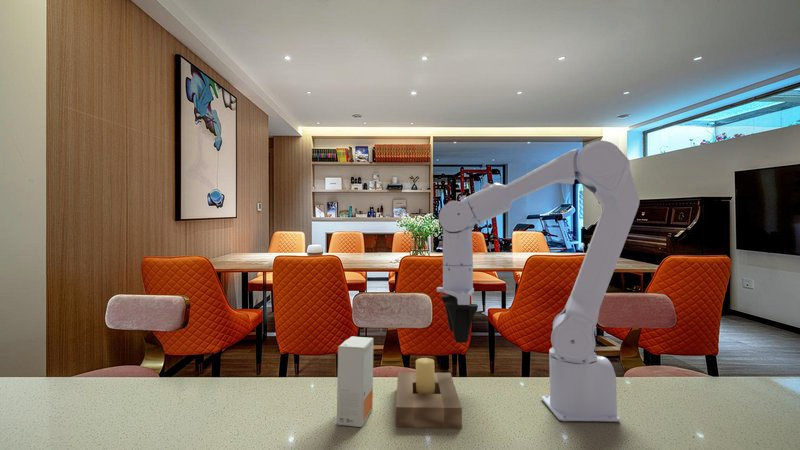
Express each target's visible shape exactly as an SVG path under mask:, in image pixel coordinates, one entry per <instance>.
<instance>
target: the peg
mask: <svg viewBox="0 0 800 450" xmlns="http://www.w3.org/2000/svg"><path fill="white" fill-rule="evenodd" d="M415 372H416V394H435V373H436V372H435V360H434V359H433V358H428V357H420V358H417V359H415Z"/></svg>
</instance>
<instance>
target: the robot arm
mask: <svg viewBox="0 0 800 450" xmlns="http://www.w3.org/2000/svg"><path fill="white" fill-rule="evenodd" d="M631 170H632V169H631V164H630V160H629V158H628V157H627V156H626V155H625V153H623V151H622V150H621V149H620V148H619V147H618V146H617V145H616V144H614V143H613V142H611V141H607V140H596V141H595V140H594V141H592V142H591V141H590V142H589V143H587V144H586V145H584V146H583V147H582V148H581V149H580V148H579V147H578V148H575V149H571V150H570V151H568V152H566V153H564V154H562V155H560V156H558V157H555V158H554V159H552V160H550V161H548V162H546V163H544V164H543V165H540V166H539V167H537V168H535V169H533V170H531V171H530V172H528V173H526V174H524V175H523V176H520V177H519V178H516V179H515V180H512V181H511V182H509V183H507V184H502V183H499V182H494V183H489V182H486V183H484V184H483V185H482V189H480V190H478V191H476V192H474V193H472V194H470V195H468V196H466V195H462V196H460V197H459V199H460V201H458V200H449V201H448V202H446V204H444V205H443V206H442V207H441V208H440V211H439V214H438V222H439V224H440V226H441V227H442V286H438V287H436V293H437V292H438V293H444V294H442V295H440V298H441V300H442V303H443V304H444V307H445V313H446V318H447V324H448V329H449V331H450V332H452V334H453V337H454V341H455V343H462V344H463V343H468V342H469V341H468V340H469V336H470V331H471V326H472V322H473V319H474V316H475V314H476V312H477V311H478V309H479V305H478V304H477V303H471V296H472V294H474V292H475V288H474V265H473V264H474V263H473V260H474V258H473V255H474V254H473V251H474V248H473V244H474V242H473V229H474V227H475V225H481V224H483V223H485V222H486V221H489V220H491V219H494V218H496V217H498V216H500V215H502V214H505V213H506V212H509V211H510V210H511V207H512V204H513V202H515V201H516V200H519V199H521V198H524V197H526V196H528V195H530V194H532V193H535V192H537V191H540V190H542V189H545V188H548V187H550V186H552V185H554V184H566V185H575V179H576V180H577V181H578V183H580V184H581V185H582V186H583V187H585V188H586V189H587V190H589V191H590V192H591V193H592V194H593V195H594V197H595V199H596V200H597V201H598V203H599V204H600V206H601V208H602V211H600V212H601V213H600V215H599V218H598V220H597V223H596V226H595V228H594V231H593V234H592V236H591V239H590V241H589V245H588V247H587V250H586V253H585V255H584V257H583V261H582V263H581V265H580V266H581V267H580V268H579V272H578V274H577V277H576V280H575V282H574V285H573V286H572V290H571V293H570V295H569V297H568V299H567V301H566V304H565V306H564V308H563V310H562V311H561V312H560V313H558V314H557V315H556V316H555V317H554V319H553V321H552V332H551V335H550V342H551V345H552V347H551V348H550V349H549V350H548V351H549V355H548V356H549V357H548V358H549V360H548V362H549V395H541V396H540V399H541V401H542V402H543V403H544V404H545V405H546V406H547V407H548V409H550V411H551V412H552V414H553V415H554V416H555V417H556V418H557V419H558V420H559V421H561V422H620V421H621V418H620V417H619V416H618V405H617V403H618V401H617V398H618V397H617V395H618V394H617V393H618V392H617V376H616V372H615V370H614V369H615V368H614V367H613V364H612V363H611V361H610V360H609V359H608V358H607V357H606V356H602V355H597V353H596V352H595V350H596V337H595V331H596V326H597V323H598V318H599V313H600V308H601V306H602V303H603V300H604V297H605V295H606V292H607V290H608V287H609V284H610V282H611V279H612V277H613V274H614V272H615V270H616V267H617V264H618V261H619V259H620V256H621V253H622V251H623V248H624V246H625V243H626V240H627V238H628V235H629V232H630V231H631V227H632V225H633V222H634V219H635V217H636V215H637V212H638V209H639V206H640V201H641V200H640V196H639V194H638V190H637V187H636V184H635V180H634V178H633V174H632V171H631Z"/></svg>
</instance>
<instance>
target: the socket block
mask: <svg viewBox="0 0 800 450" xmlns="http://www.w3.org/2000/svg"><path fill="white" fill-rule="evenodd" d="M396 381H397V382H396V383H397V384H396V398H395V399H396V400H395V428H411V429H412V428H414V429H417V428H421V429H422V428H424V429H425V428H426V429H428V428H431V429H433V428H435V429H437V428H438V429H446V428H447V429H462V428H463V407H462V404H461V400H460V398H459V395H458V393H457V389H456V386H455V382H454V380H453V377H452V374H451V372H435V394H416V371H415V372H410V371H409V372H407V371H406V372H403V371H402V372H397V380H396Z"/></svg>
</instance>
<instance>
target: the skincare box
mask: <svg viewBox="0 0 800 450" xmlns="http://www.w3.org/2000/svg"><path fill="white" fill-rule="evenodd" d="M373 388H374V337H366V336H365V337H364V336H354V335H353V336H350V337H349V338H347V339H345V340H344V341H343V342H342V343H341V344H340V345H338V347H337V389H336V390H337V391H336V425H339V426H345V427H346V426H348V427H357V428H362V427H363V426H364V424H365V422H366V420H367V418H368V417H369V415H370V414H371V412H372V411H373V403H374V402H373V396H374V394H373V392H374V389H373Z"/></svg>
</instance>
